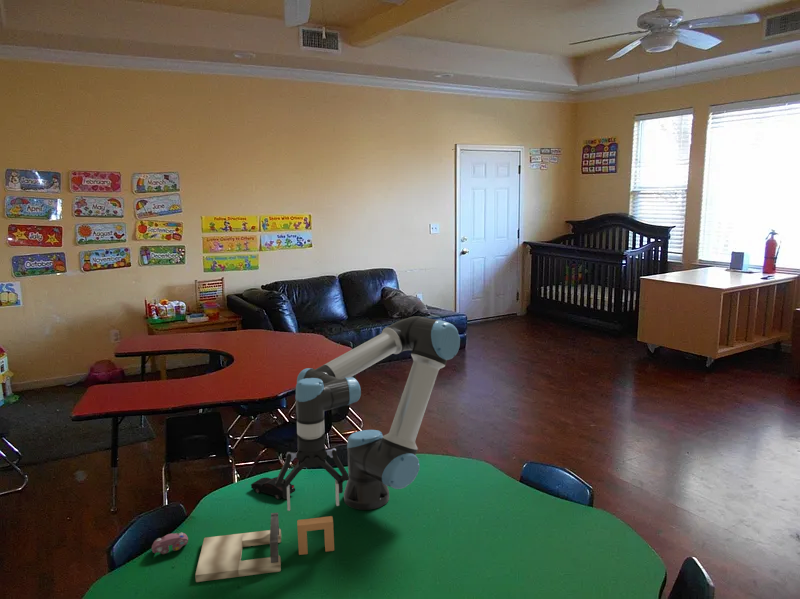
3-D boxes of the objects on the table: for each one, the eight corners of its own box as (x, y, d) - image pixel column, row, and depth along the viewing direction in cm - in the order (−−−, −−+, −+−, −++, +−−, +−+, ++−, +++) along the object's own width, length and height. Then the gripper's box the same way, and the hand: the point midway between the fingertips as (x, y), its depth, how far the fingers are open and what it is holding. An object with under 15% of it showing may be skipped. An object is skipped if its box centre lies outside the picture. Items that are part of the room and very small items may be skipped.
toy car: (262, 484, 211) (262, 471, 210) (297, 494, 203) (296, 481, 202) (249, 492, 205) (248, 478, 204) (283, 503, 197) (283, 489, 196)
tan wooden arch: (333, 544, 173) (332, 516, 171) (334, 550, 170) (333, 521, 168) (298, 548, 171) (297, 520, 169) (298, 555, 168) (297, 525, 166)
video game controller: (153, 562, 168) (152, 547, 165) (151, 548, 172) (150, 533, 168) (189, 552, 173) (189, 537, 169) (187, 539, 176) (186, 524, 172)
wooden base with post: (281, 534, 178) (279, 510, 177) (280, 571, 161) (279, 544, 159) (204, 544, 174) (202, 518, 173) (195, 582, 157) (193, 554, 155)
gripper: (354, 426, 170) (355, 495, 174) (265, 432, 166) (268, 503, 169) (357, 436, 163) (358, 508, 166) (264, 443, 158) (267, 517, 162)
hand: (313, 506), depth 168 cm, fingers open, 13 cm apart
